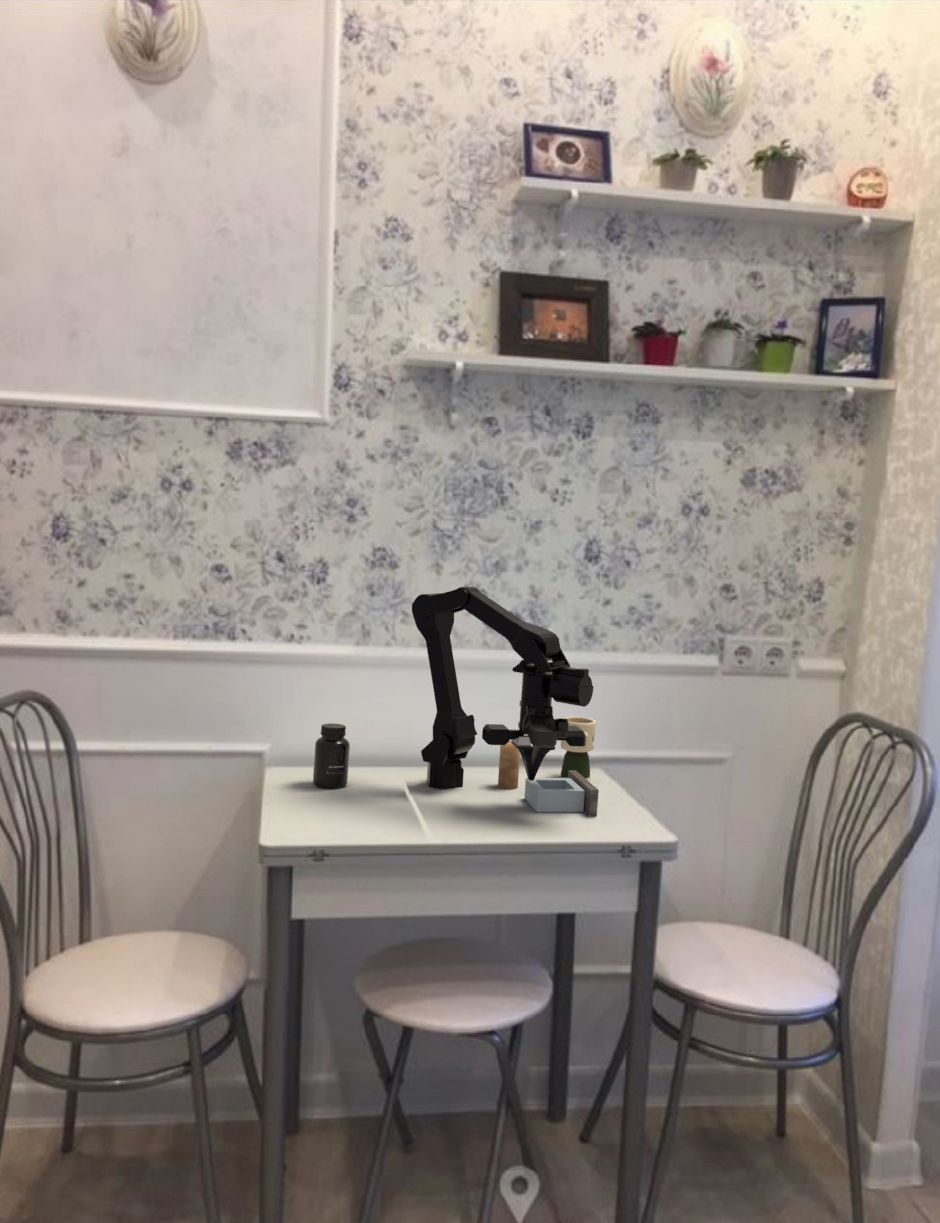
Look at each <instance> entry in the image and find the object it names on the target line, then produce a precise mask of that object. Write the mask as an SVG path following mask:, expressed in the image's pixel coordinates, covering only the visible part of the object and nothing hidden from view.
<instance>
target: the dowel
mask: <svg viewBox="0 0 940 1223" xmlns="http://www.w3.org/2000/svg"><path fill="white" fill-rule="evenodd" d="M511 741H512V740H509V742H508V743H507V744H506V745H499V764H498V778H497V779H498V780H497V788H499V789H504V790H516V789H518V788H519V773H520V757H521V754H520V752H519V749H517V748H516V747H515V746H514V745H513V744H512V743H511Z"/></svg>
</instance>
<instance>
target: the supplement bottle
mask: <svg viewBox="0 0 940 1223" xmlns="http://www.w3.org/2000/svg"><path fill="white" fill-rule="evenodd" d="M346 732H347V730H346V725H345V724H340V723H333V722H332V723H323V724H321V729H320V735H321V737H319V738H317V740H316V741H315V744H314V758H313V773H312V774H313V775H312V776H313V777H312V778H313V779H312V781H313V785H314V786H315V787H318V788H321V789H324V790H325V789H327V790H334V789H335V790H338V789H342V788H345V787H346V786H347V785H348V781H349V780H348V779H349V762H350V749H351V748H350V747H351V745H350V741H349V740H348V739H346V738H345V737H346V735H347V733H346Z"/></svg>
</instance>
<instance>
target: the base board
mask: <svg viewBox="0 0 940 1223" xmlns="http://www.w3.org/2000/svg"><path fill="white" fill-rule="evenodd" d="M568 778H571V779H572V780H573V781H574V782H575V783H576V784H578V785H579V786H580V787H581V788H582V789H583V790H584V791H585V796H584V810H583V812H584V813H585V814H586V815H587V816H588V817H597V816H598V805H599V804H598V803H599V789H598V788H597V787H596V786H595V785H594V784H593V783H591V782H590V781H589V780H588V779H587V778H586V779H585V778H584V777H583V776H582V775H581V774H579V773H578V772H577V771H576V770H568Z"/></svg>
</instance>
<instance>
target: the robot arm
mask: <svg viewBox="0 0 940 1223" xmlns="http://www.w3.org/2000/svg"><path fill="white" fill-rule="evenodd" d="M462 611H466V612H468V613H469V614H470V615H472V616H473V617H475V618H476V619H478V620H479V621H480V622H482V623H483V624H485V625H486V626H488V627H489V628H491V629H492V630H493V631H494V632H495V633H497V634H499V635H500V636H502V637H504V638H505V639H506V640H507V641H508V642H509V644H510V645H511V647H512V650H513V651H514V652H515V653H516V654H517V655H518V656H519V657H520V658H521V660H520V662H518V664H517V665H515V666H514V667H513V668H511V669H512V672H514V673H520V674H522V680H521V692H520V694H521V695H520V700H519V707H520V712H519V721H518V722H517V724H518V725H517V727H518V729H509V728H508V727H507V726H506V725H505V724H503V723H502V724H499V723H498V724H497V723H495V724H494V723H493V724H492V723H490V724H489V723H486V724H485V725H484V726H483V727H482V731H481V738H482V740H483V741H484V742H485V743H486V744H487V745H489V746H500V745H506V744H507V743H508V742H509V741H511V743H512V744H513V745H514V746H515V747H516V748H517V749H519V752H520V757H521V760H522V762H523V763H522V764H523V766H524V770H525V773H526V776H527V777H526V778H528V780H529V781H533V780H534V778H536V775H537V773H538V771H539V769H540V766H541V765H542V762H543V760H544V759H545V757H546V755H547V754H549V753H550V751H555V750H556V746H557V742H558V741H561V740H563V741H566V742H567V743H568V745H569V746H585V742H586V736H585V733H584V732H583V731H582V730H581V729H580V728H578V727H577V726H568V720H567V719H563V718H555V717H554V714H553V712H554V710H553V709H554V708H553V706H552V704H553V703H552V700H554V702H556V703H559V704H560V703H561V704H566V705H572V706H578V707H579V706H580V707H587V706H589V704H590V702H591V701H592V698H593V694H594V685H593V681H592V678H591V676H590V674H589V672H590V670H589V668H582V667H581V668H577V667H571V665H570V662H569V661H568V659H567V657H566V656H565V653H564V652H563V650H562V648H561V645H560V638H559V636H558V635H557V634H556V633H555V632H553V631H551V630H548V629H546V628H544V627H542V626H540V625H536V624H532V623H529V622H526V621H525V620H523V619H521V618H519V617H517V616H516V615H515V614H513V613H512V612H510V611H509V610H507V609H506V608H504V607H503V606H501V605H500V604H499V603H497V602H496V601H494V600H493V599H491V597H490V598H489V597H488V596H487V595H485V594H484V593H483V592H482V591H480V589H478V588H477V587H476V586H460V587H457V588H456V589H453V590H450V591H446V592H442V593H439V592H437V593H425V594H424V593H421V594H419V595H418V596H416V598H415V599H414V601H413V602H412V604H411V612H412V613H411V614H412V616H413V619H414V623H415V626H416V628H417V630H418V631H419V632H420V634H421V636H422V637H423V638H424V641H425V644H426V646H425V647H426V650H427V656H428V663H429V669H430V676H431V682H432V688H433V694H434V701H435V708H436V714H435V718H434V722H433V724H432V740H431V741H430V742H429V743H428V744H427V745H426V746H425V747H424V748H422V749H421V751H420V753H421V756H422V762H426V763H427V772H426V785H427V786H428V788H433V789H439V790H453V789H456V788H463V787H464V770H465V769H464V767H463V766H462V759H466V758H467V757H468V754H469V751H471V749H472V748H473V746H474V745H475V744H476V736H477V735H478V732H477V730H476V726H475V717H474V715H473V714H470V715H468V714H467V713H466V712H465V711H464V709H463V707H462V703H461V698H460V697H461V696H460V690H459V683H458V678H457V673H456V666H455V659H454V655H453V653H454V652H453V646H452V641H451V634H452V630H453V627H454V623H455V613H460V612H462Z"/></svg>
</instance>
